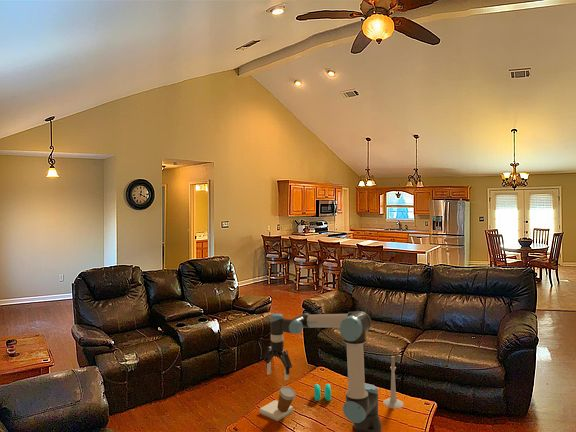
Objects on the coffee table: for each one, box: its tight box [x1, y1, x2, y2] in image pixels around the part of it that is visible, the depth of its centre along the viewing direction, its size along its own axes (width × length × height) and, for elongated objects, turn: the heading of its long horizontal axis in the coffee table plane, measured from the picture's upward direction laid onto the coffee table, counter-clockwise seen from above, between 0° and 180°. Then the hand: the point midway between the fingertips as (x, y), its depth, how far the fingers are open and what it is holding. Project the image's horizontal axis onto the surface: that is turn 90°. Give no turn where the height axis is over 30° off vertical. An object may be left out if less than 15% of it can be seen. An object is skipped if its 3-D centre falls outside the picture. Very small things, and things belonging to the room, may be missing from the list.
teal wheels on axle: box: [313, 383, 332, 402], centre depth 256 cm, size 10×10×10 cm
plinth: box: [259, 399, 294, 422], centre depth 241 cm, size 14×14×3 cm
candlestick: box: [382, 355, 404, 410], centre depth 249 cm, size 13×13×30 cm
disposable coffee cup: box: [277, 385, 296, 412], centre depth 236 cm, size 10×10×12 cm
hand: (277, 376), depth 240 cm, fingers open, 13 cm apart
